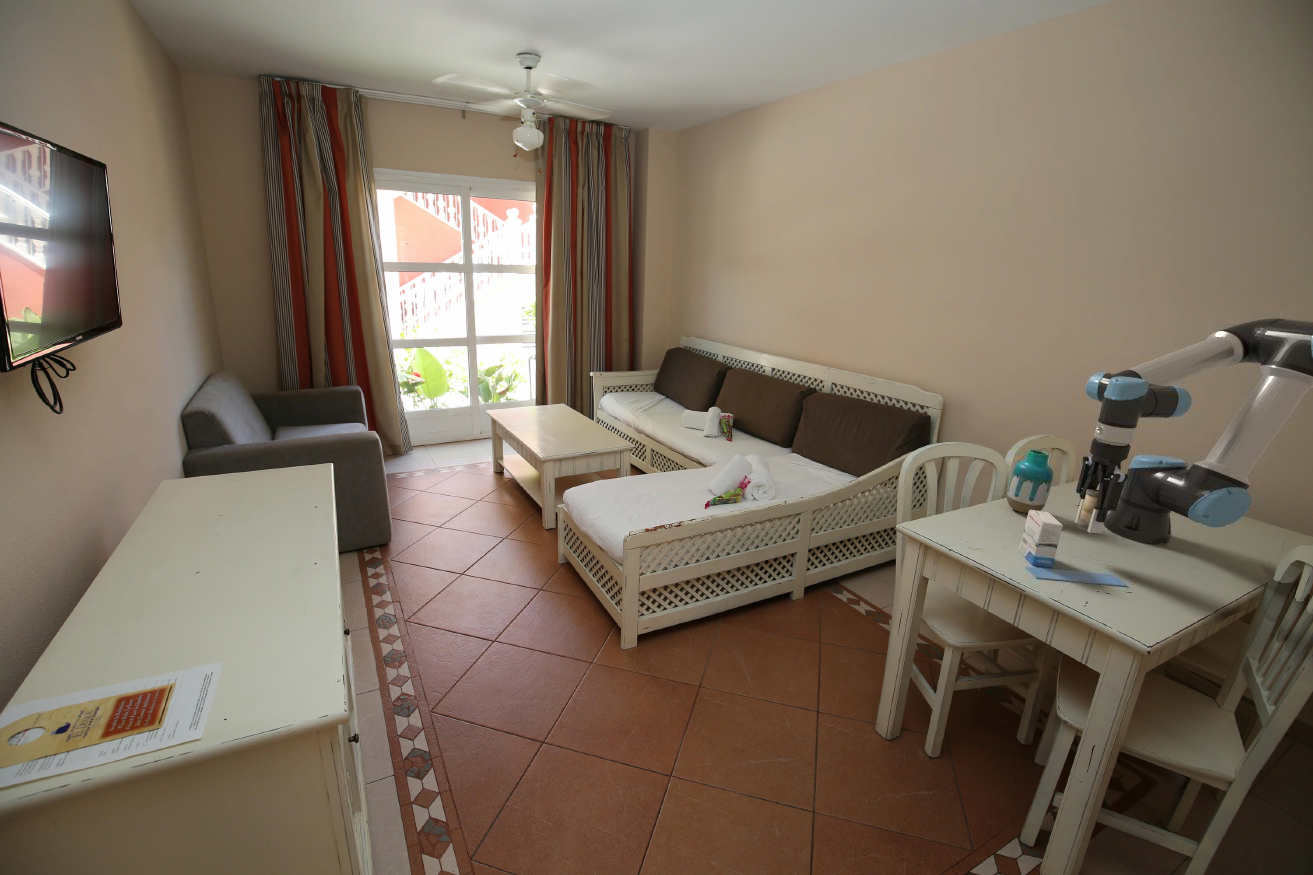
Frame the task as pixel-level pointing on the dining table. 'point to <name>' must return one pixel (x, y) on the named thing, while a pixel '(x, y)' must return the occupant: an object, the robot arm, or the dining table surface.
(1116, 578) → the tape line
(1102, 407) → the robot arm
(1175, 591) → the dining table surface
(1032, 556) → the ink box
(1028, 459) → the vase
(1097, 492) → the tan cylindrical piece
